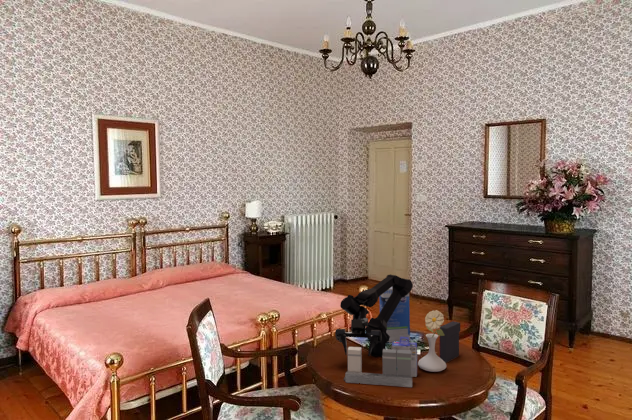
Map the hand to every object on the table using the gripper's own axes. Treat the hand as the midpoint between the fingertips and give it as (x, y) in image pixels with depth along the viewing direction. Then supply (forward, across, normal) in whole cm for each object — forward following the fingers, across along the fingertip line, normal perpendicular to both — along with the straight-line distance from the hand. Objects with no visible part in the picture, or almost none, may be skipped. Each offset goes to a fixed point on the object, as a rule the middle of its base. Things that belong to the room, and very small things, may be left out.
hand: (357, 355), depth 190 cm
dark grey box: (-9, +37, +20) cm, 44 cm away
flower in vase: (0, +30, +11) cm, 32 cm away
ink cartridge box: (+4, +19, +6) cm, 20 cm away
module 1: (+9, 0, +1) cm, 9 cm away
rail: (+10, +8, 0) cm, 13 cm away
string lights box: (-23, +14, +35) cm, 44 cm away
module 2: (+10, +13, 0) cm, 16 cm away
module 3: (+10, +18, 0) cm, 21 cm away
